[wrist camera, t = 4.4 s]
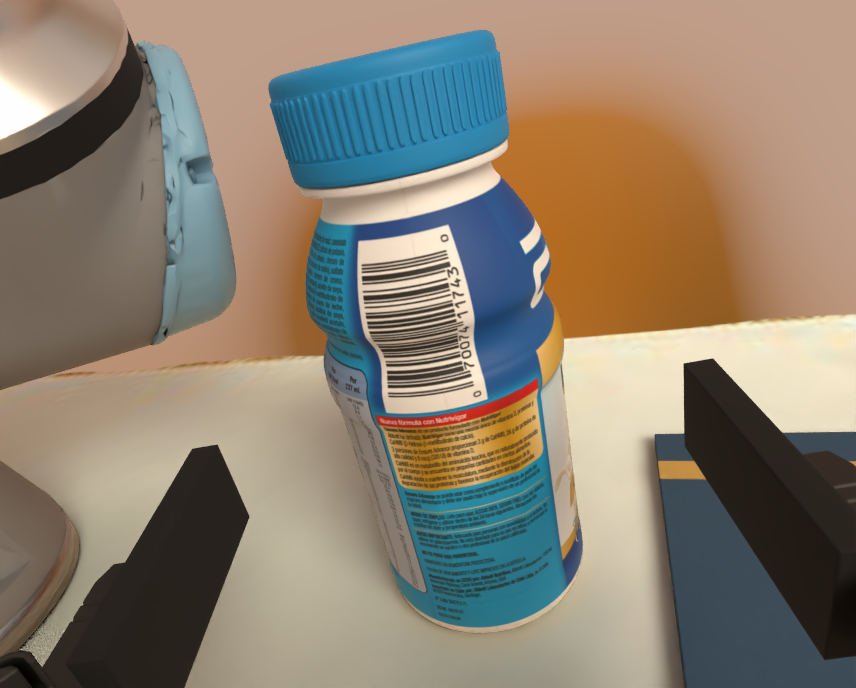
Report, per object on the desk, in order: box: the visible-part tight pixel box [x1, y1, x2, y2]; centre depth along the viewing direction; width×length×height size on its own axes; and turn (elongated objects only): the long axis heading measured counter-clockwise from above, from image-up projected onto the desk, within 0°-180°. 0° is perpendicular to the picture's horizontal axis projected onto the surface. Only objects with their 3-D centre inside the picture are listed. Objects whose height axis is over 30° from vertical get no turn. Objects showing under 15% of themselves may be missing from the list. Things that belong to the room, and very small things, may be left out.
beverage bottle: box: [269, 30, 583, 633], centre depth 21 cm, size 8×8×20 cm
